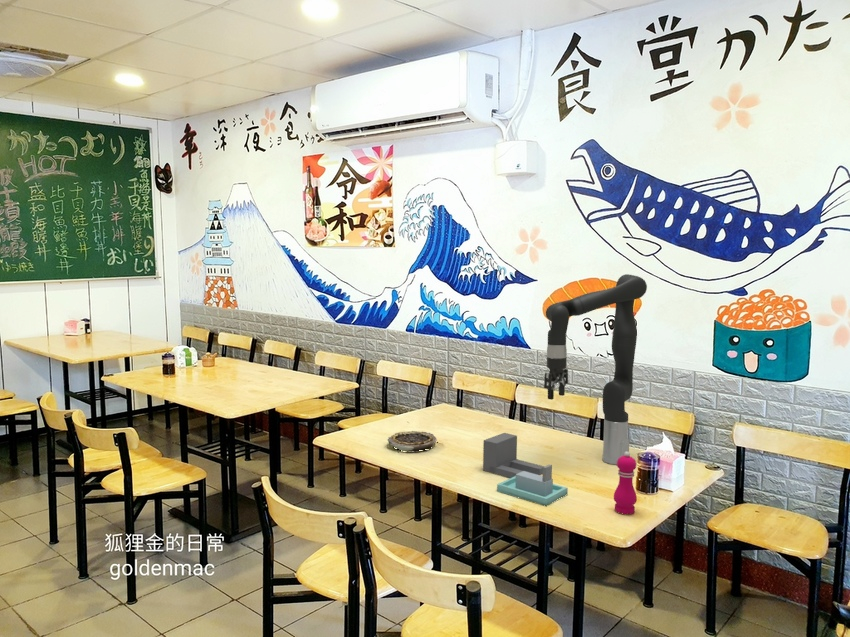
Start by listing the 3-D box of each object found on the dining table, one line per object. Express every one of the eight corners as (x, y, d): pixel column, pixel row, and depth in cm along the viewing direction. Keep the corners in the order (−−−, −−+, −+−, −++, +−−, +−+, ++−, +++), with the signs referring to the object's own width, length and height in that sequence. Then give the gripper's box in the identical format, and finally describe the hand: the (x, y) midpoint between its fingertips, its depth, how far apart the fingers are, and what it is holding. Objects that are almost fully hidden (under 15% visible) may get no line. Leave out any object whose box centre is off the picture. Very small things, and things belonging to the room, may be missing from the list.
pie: (456, 450, 279) (456, 439, 278) (401, 462, 264) (401, 450, 264) (421, 434, 302) (421, 424, 302) (368, 444, 288) (368, 433, 287)
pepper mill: (608, 510, 215) (611, 451, 213) (620, 504, 220) (622, 446, 218) (629, 517, 210) (631, 456, 208) (640, 511, 215) (642, 451, 213)
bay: (545, 472, 251) (545, 442, 250) (524, 482, 240) (525, 450, 239) (503, 461, 263) (504, 432, 262) (483, 470, 253) (483, 440, 252)
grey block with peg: (552, 492, 228) (553, 464, 227) (544, 496, 224) (545, 468, 223) (523, 484, 236) (524, 457, 235) (515, 488, 232) (516, 460, 231)
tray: (567, 494, 229) (567, 487, 229) (546, 506, 218) (546, 498, 218) (519, 480, 242) (519, 474, 242) (497, 491, 232) (497, 484, 231)
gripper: (557, 353, 261) (556, 393, 263) (538, 357, 251) (538, 399, 252) (574, 354, 256) (573, 395, 258) (556, 359, 246) (555, 401, 247)
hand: (556, 397), depth 255 cm, fingers open, 8 cm apart
